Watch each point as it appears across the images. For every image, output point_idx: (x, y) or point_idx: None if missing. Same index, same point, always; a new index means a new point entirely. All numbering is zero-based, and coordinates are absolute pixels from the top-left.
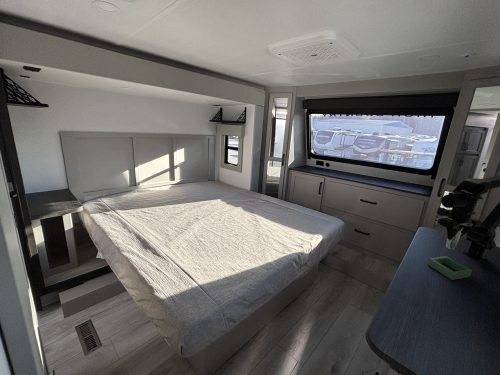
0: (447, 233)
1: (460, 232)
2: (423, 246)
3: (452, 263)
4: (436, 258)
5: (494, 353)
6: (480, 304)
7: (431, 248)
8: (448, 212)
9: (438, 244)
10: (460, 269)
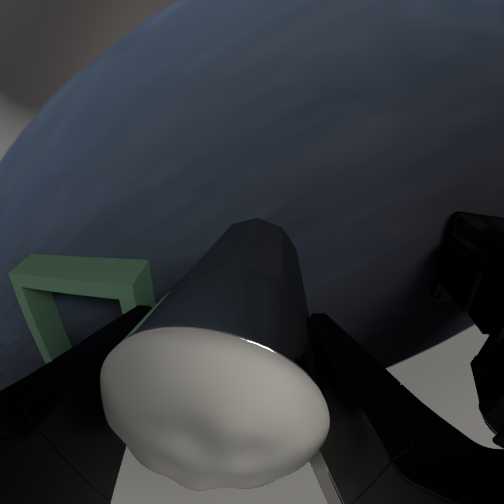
0: (69, 354)
1: (241, 487)
2: (203, 52)
3: None
4: (44, 285)
5: None
6: None
7: (250, 90)
8: None
9: (402, 68)
10: None
